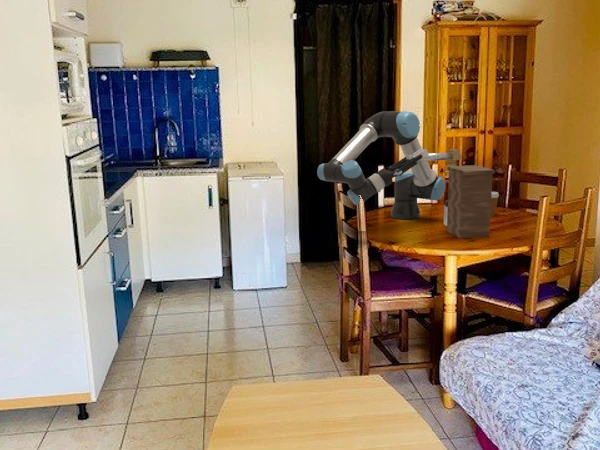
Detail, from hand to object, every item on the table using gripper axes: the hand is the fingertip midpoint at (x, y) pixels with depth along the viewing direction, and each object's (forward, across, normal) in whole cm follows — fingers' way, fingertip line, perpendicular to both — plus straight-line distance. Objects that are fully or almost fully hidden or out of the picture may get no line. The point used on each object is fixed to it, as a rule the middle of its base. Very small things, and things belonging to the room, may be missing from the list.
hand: (425, 151), depth 260 cm
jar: (0, -18, -45) cm, 49 cm away
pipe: (+1, 0, -6) cm, 6 cm away
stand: (-1, 0, -44) cm, 44 cm away
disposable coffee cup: (+24, -34, -58) cm, 72 cm away
